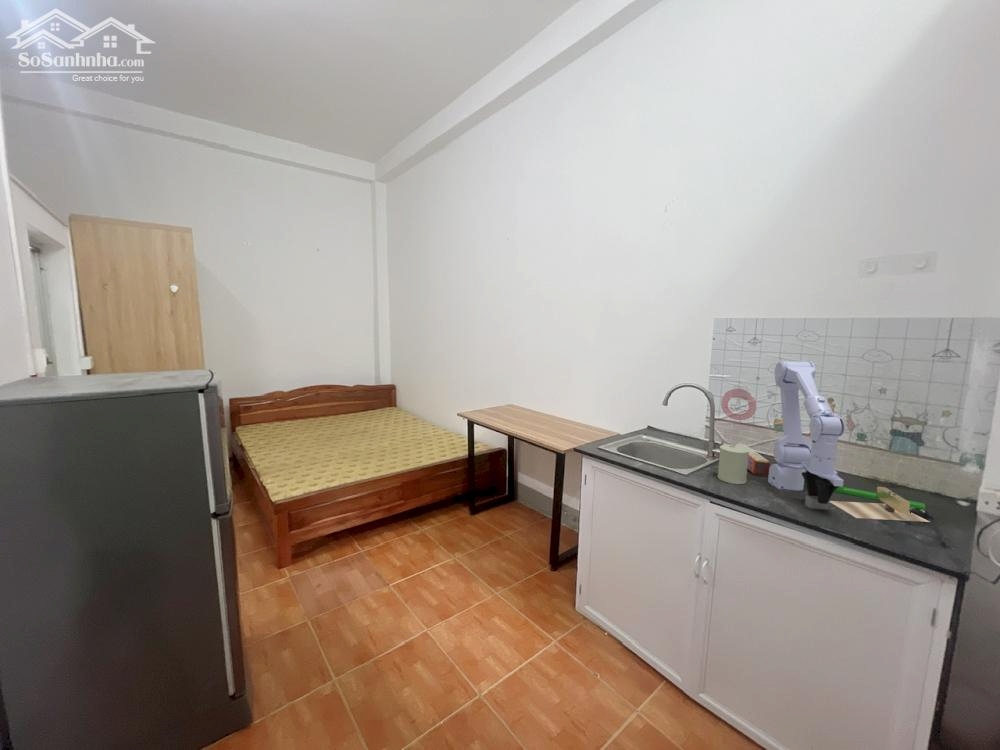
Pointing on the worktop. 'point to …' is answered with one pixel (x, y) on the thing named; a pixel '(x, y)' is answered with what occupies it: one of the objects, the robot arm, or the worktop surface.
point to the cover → (815, 503)
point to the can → (733, 464)
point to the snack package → (756, 462)
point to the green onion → (870, 495)
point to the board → (875, 511)
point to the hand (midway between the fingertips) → (817, 500)
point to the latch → (893, 500)
